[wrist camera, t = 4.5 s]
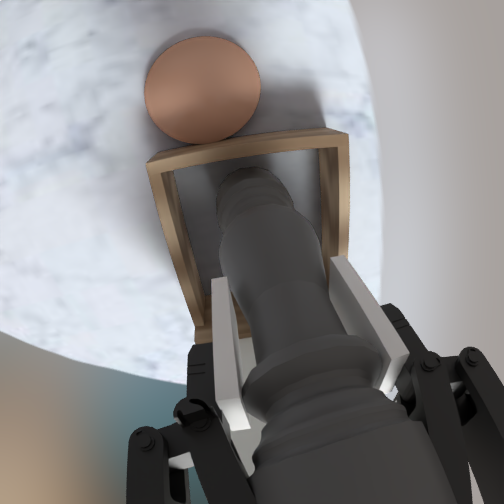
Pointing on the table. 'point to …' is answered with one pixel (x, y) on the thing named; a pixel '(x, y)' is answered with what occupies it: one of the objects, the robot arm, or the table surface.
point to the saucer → (202, 90)
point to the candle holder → (312, 368)
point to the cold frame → (163, 163)
